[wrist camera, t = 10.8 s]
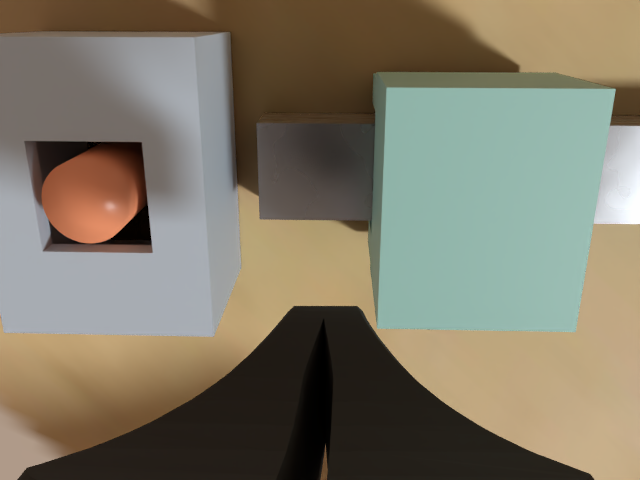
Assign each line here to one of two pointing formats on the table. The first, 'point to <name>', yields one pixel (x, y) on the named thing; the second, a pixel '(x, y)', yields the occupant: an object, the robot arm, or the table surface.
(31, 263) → the end cabinet
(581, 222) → the block
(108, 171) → the orange rounded knob
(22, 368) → the table surface
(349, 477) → the robot arm
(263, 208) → the rail
